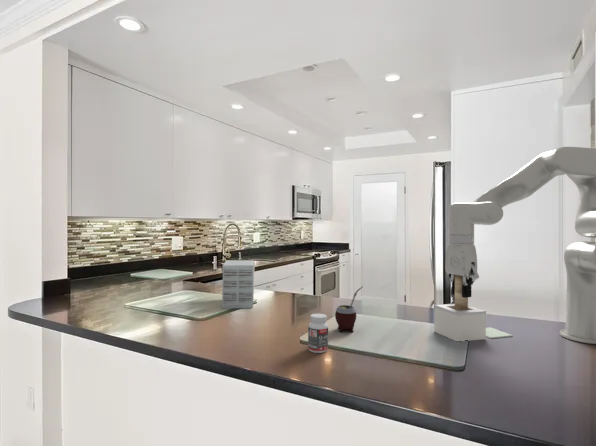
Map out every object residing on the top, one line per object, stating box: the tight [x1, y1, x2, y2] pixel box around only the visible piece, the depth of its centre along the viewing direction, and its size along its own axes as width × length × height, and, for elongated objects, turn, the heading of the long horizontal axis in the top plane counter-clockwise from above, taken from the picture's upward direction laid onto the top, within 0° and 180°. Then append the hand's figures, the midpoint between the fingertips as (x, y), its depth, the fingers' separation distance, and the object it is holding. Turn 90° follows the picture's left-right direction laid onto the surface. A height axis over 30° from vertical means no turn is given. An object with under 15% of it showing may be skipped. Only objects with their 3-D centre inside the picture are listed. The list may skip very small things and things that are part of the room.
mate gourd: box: [334, 286, 364, 334], centre depth 124 cm, size 8×8×15 cm
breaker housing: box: [433, 303, 487, 342], centre depth 120 cm, size 11×11×9 cm
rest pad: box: [486, 326, 513, 339], centre depth 123 cm, size 9×9×1 cm
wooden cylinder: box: [455, 275, 469, 310], centre depth 120 cm, size 4×4×11 cm
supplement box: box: [221, 259, 255, 309], centre depth 160 cm, size 17×13×18 cm
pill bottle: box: [307, 313, 329, 354], centre depth 105 cm, size 6×6×10 cm
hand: (461, 295), depth 120 cm, fingers closed on wooden cylinder, 4 cm apart
